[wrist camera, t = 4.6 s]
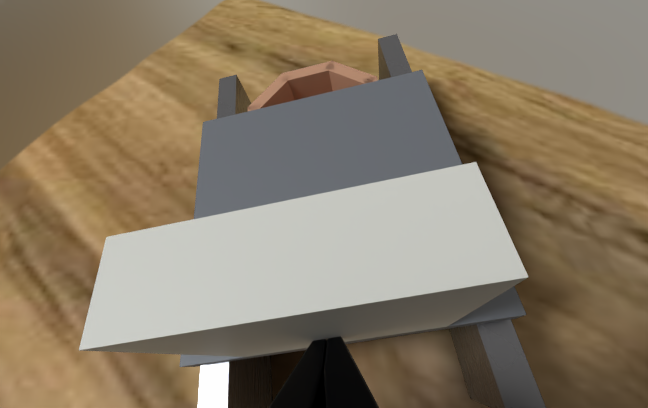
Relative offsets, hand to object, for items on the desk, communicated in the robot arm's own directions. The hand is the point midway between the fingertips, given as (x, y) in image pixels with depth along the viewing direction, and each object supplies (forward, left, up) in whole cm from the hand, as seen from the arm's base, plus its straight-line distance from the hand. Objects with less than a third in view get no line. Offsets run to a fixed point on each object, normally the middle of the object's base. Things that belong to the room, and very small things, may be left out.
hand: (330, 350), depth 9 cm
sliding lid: (+6, 0, -3) cm, 7 cm away
